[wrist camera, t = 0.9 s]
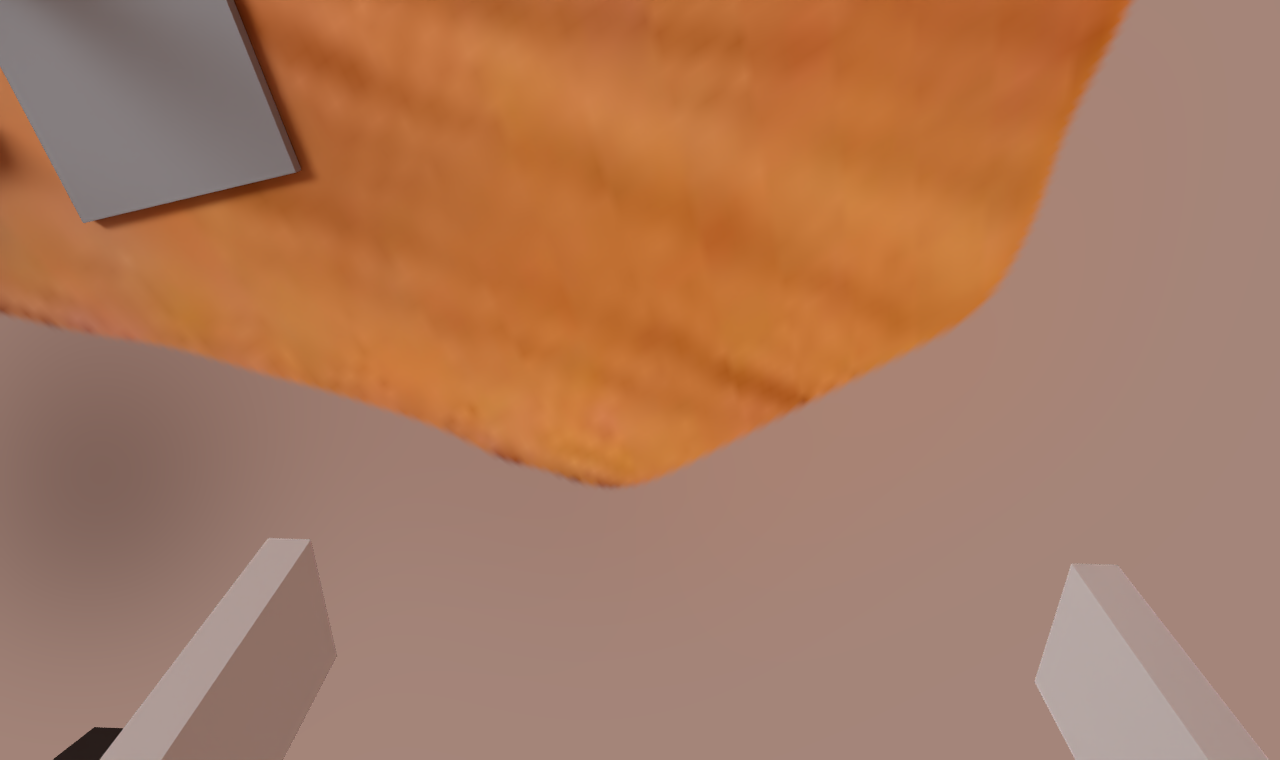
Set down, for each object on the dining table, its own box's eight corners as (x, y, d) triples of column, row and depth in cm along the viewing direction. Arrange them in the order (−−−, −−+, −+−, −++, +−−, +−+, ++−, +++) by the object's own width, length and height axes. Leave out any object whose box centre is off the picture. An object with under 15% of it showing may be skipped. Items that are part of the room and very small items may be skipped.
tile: (-41, -33, 33) (-53, -34, 32) (193, -102, 31) (184, -104, 31) (91, 220, 37) (83, 223, 37) (301, 170, 36) (295, 172, 35)
